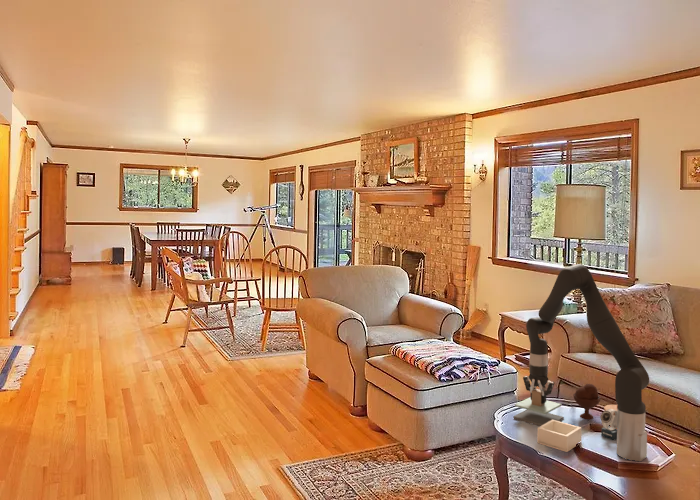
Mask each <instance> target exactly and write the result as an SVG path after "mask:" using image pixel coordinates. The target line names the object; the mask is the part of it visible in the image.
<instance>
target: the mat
mask: <svg viewBox="0 0 700 500" xmlns="http://www.w3.org/2000/svg"><path fill="white" fill-rule="evenodd" d="M513 418H514V420H517V421H519V422H520V421H521V422H524V423H528V424H531V425H535V426H538V427H540V426H542V425H544V424H545V423H547V422H549V421H551V420H556V421H560V422H563V421H564V419H565V418H564V416H562V415H558V414H554V413H551V412H549V413H547V414H542V413H538V412H535V411H531V410H527V409H524V410H522V411H521V412H518V414H517V413H516V414H515V415H514V416H513Z"/></svg>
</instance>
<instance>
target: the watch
mask: <svg viewBox="0 0 700 500" xmlns="http://www.w3.org/2000/svg"><path fill="white" fill-rule="evenodd" d="M614 413H615V417H614V419H613V414H614ZM600 421H601V422H600V423H601V424H602V426H603V427H601V429H600V432H601V437H604V438H607V439H609V440H611V441H617V429H616V427H617V411H616V410H613V409H608V410H606V411H604V410H603V412H602V413H601V414H600ZM612 421H613V423H612V426H611V427H610V426H609V425H610V423H611V422H612Z"/></svg>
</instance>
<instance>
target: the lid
mask: <svg viewBox="0 0 700 500" xmlns="http://www.w3.org/2000/svg"><path fill="white" fill-rule="evenodd" d="M541 396H542V394H541V390H540V388H536V389H534V390H532V400H531V396H530V397H528V398H526V399H523V400H522V401H519V402H517V403H515V404H514V407H517V408H521V409H524V410H531V411H535V412H538V413H542V414H547V413H551V412H553V411H554V410H556V409H558V408H560V407H561V406H562V403H559V402H555V401H551V400H548V399H546V402H545V403H544V404H542V403H541Z"/></svg>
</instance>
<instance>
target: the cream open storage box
mask: <svg viewBox="0 0 700 500" xmlns="http://www.w3.org/2000/svg"><path fill="white" fill-rule="evenodd" d="M536 430H537V435H536V436H537V439H536V440H537V441H536V442H537V444H540V445H543V446H547V447H549V448H553V449H557V450H559V451H562V452H566V453H567V452H569V451H571V450H572V449H574V448H575V447H577V446H576V444H577V443H578V442H580V441H581V442H582V427H581V426H578V425H573V424H570V423H566V422H563V421H556V420H551V421H549V422H547V423H545V424H544V425H542V426H538V427H537V429H536Z"/></svg>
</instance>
